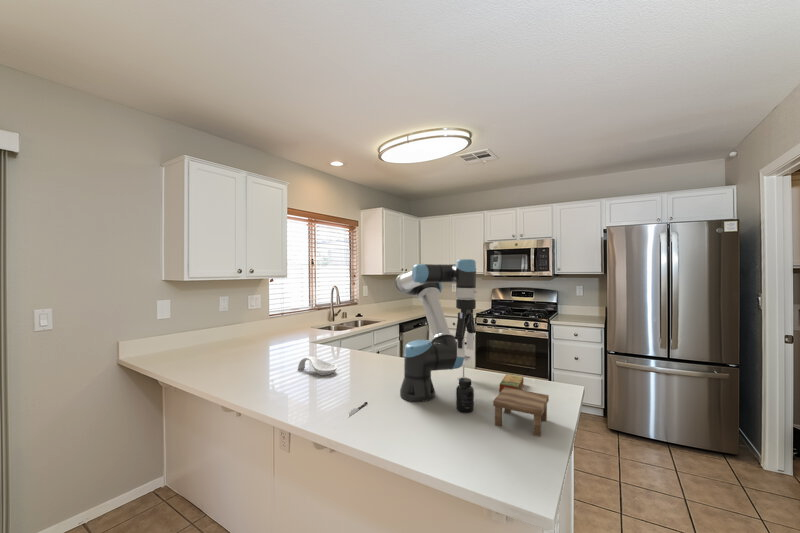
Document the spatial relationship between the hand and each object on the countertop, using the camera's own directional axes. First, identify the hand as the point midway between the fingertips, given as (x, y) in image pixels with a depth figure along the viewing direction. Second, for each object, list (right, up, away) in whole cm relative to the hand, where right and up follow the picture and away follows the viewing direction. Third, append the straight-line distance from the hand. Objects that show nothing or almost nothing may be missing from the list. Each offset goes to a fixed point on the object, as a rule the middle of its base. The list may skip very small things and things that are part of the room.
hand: (465, 352), depth 135 cm
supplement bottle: (0, -23, 0) cm, 23 cm away
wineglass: (+6, -23, +37) cm, 44 cm away
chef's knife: (-44, -23, -2) cm, 50 cm away
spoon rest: (-70, -22, +48) cm, 87 cm away
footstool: (+18, -23, -10) cm, 31 cm away
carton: (+26, -23, +25) cm, 43 cm away
